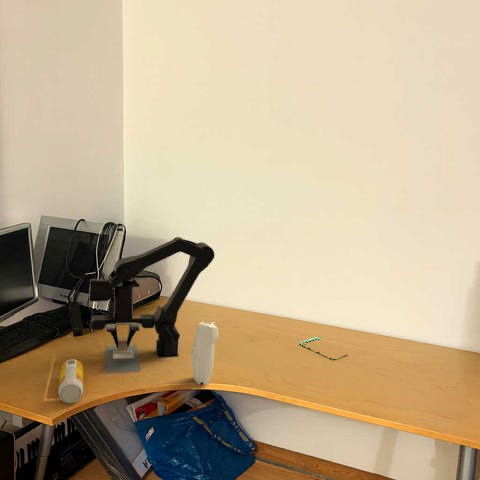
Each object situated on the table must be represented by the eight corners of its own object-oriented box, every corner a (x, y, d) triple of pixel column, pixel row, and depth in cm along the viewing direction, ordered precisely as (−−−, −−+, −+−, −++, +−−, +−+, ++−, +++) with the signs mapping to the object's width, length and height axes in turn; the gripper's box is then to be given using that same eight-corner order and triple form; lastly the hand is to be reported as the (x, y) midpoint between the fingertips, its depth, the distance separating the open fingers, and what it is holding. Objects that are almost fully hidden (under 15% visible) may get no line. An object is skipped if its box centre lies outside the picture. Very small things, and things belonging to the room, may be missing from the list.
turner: (112, 346, 162) (112, 338, 162) (131, 345, 164) (131, 337, 164) (113, 358, 148) (113, 349, 148) (133, 357, 149) (133, 349, 149)
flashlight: (216, 377, 149) (191, 375, 149) (220, 320, 146) (195, 318, 146) (214, 388, 143) (188, 385, 143) (218, 328, 139) (192, 326, 139)
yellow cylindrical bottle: (62, 380, 142) (60, 407, 128) (58, 360, 140) (56, 386, 126) (84, 375, 144) (84, 401, 130) (81, 356, 142) (80, 380, 128)
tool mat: (136, 346, 167) (136, 344, 167) (140, 373, 148) (140, 371, 148) (105, 347, 165) (105, 346, 164) (105, 375, 146) (105, 373, 145)
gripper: (151, 292, 164) (150, 336, 167) (92, 292, 159) (92, 338, 162) (154, 302, 154) (153, 350, 157) (91, 303, 149) (91, 352, 152)
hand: (122, 347), depth 157 cm, fingers closed on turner, 3 cm apart
